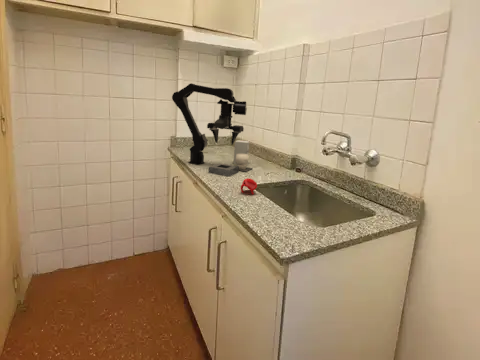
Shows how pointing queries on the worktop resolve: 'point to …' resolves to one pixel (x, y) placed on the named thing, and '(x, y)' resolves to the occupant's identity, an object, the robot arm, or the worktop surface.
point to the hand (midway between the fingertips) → (224, 143)
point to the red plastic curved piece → (249, 185)
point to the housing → (223, 169)
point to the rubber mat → (245, 169)
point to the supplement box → (241, 148)
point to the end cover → (242, 160)
